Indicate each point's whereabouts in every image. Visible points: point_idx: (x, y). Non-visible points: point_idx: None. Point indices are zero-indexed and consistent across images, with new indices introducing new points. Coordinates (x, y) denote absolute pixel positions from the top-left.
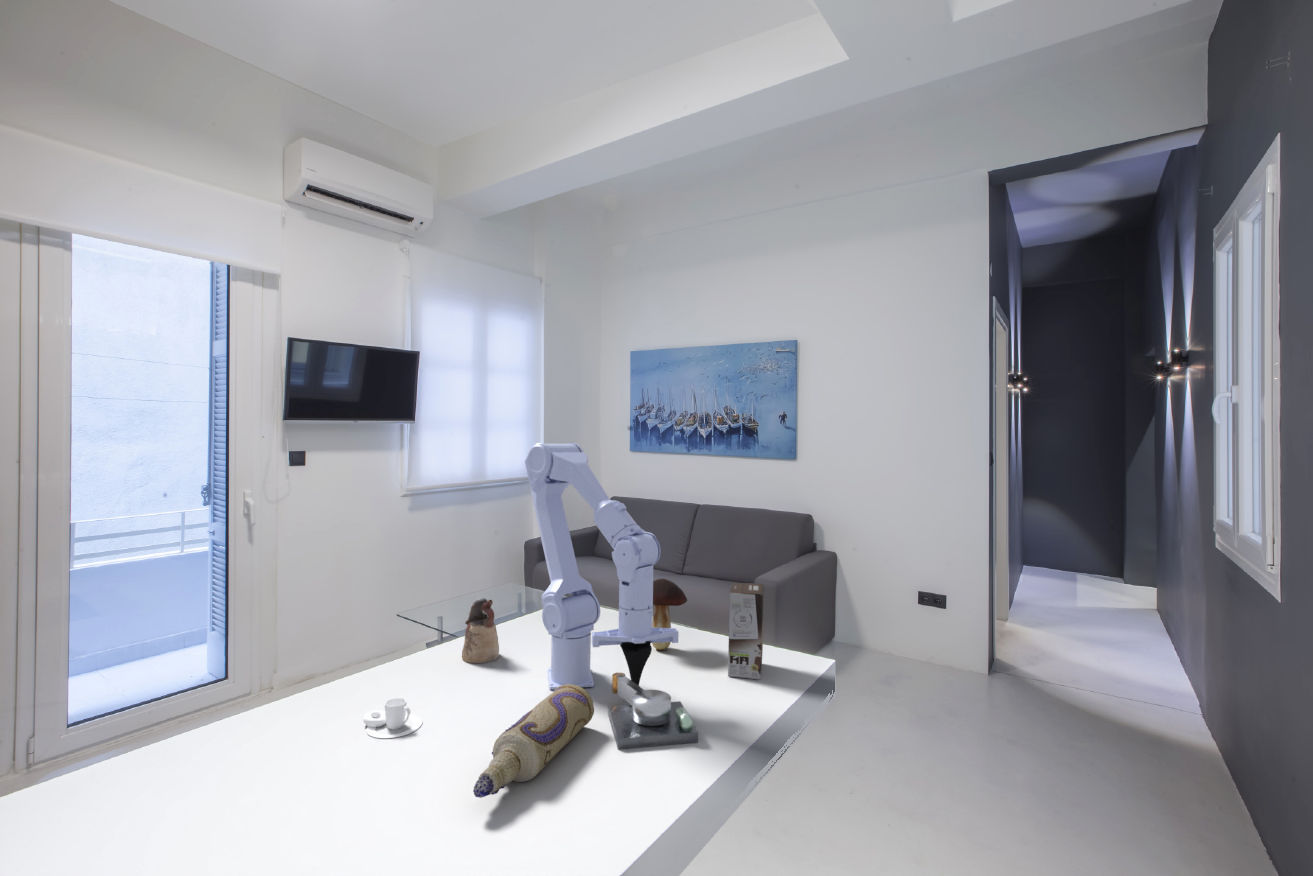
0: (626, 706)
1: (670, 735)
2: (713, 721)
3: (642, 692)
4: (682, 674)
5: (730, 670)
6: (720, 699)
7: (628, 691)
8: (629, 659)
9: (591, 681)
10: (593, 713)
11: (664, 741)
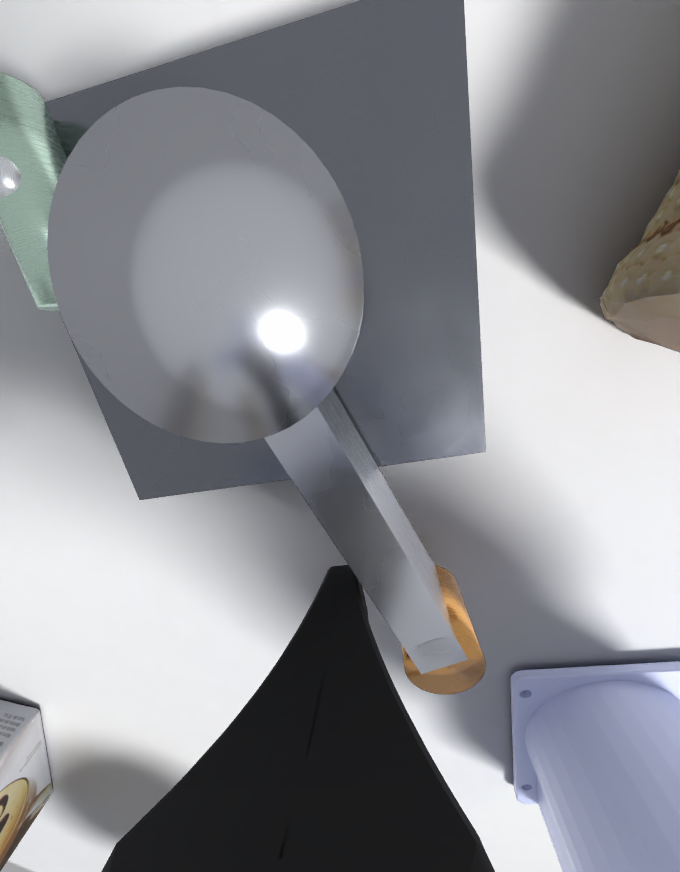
0: (391, 449)
1: (132, 83)
2: (16, 384)
3: (283, 393)
4: (190, 731)
5: (11, 731)
6: (32, 564)
7: (385, 503)
8: (399, 765)
9: (523, 701)
10: (618, 282)
11: None
